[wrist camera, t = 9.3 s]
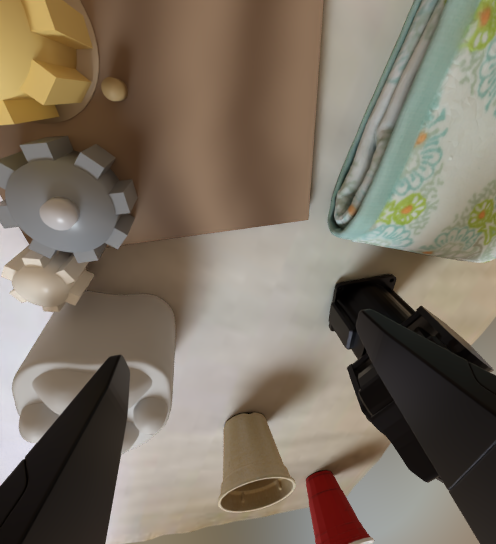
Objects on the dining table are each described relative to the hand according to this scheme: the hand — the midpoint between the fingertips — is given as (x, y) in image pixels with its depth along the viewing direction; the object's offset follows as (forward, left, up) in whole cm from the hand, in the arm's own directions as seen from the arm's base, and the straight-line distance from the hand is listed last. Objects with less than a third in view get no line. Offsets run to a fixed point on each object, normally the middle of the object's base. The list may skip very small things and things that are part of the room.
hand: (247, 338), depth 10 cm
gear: (+8, -3, -12) cm, 15 cm away
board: (+3, -7, -13) cm, 15 cm away
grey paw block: (+11, +12, -13) cm, 21 cm away
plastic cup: (-14, +60, -13) cm, 63 cm away
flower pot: (0, +32, -13) cm, 35 cm away
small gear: (+12, +2, -12) cm, 17 cm away
